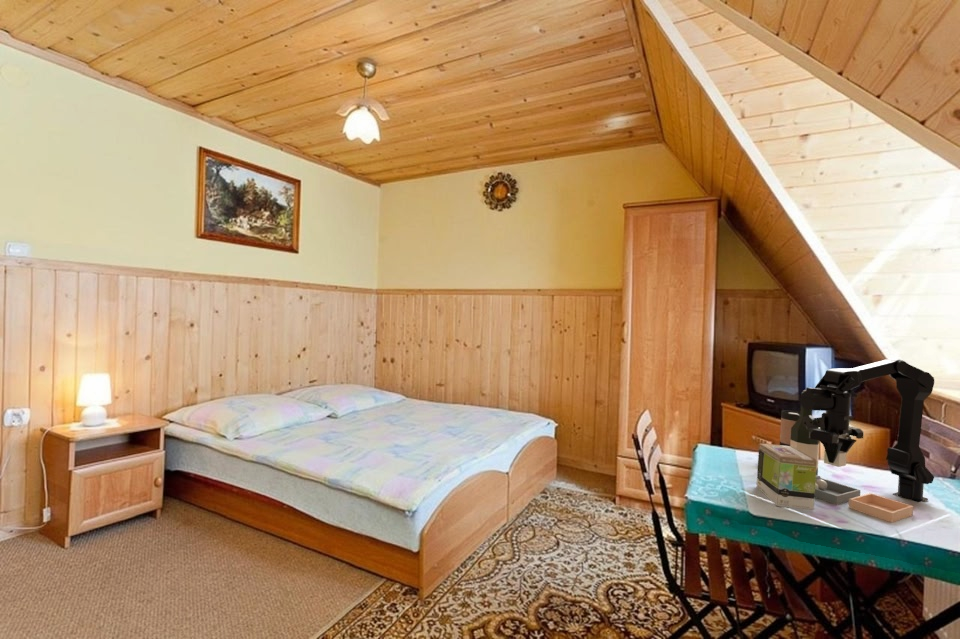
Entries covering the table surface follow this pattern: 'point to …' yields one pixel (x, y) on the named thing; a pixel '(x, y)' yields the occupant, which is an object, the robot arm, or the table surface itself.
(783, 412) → the travel mug
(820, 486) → the cream glossy ball
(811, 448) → the wine bottle
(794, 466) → the tea box
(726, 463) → the table surface
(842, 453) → the beige cube
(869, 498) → the bin
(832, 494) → the bin
